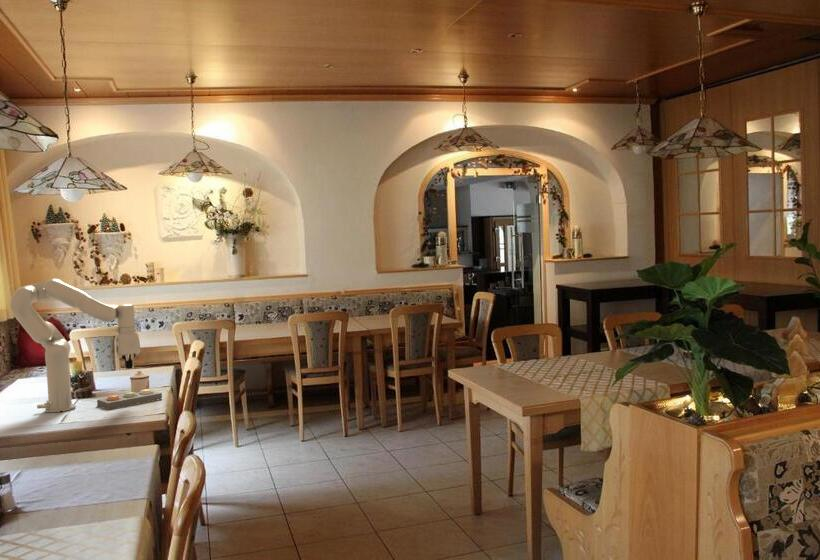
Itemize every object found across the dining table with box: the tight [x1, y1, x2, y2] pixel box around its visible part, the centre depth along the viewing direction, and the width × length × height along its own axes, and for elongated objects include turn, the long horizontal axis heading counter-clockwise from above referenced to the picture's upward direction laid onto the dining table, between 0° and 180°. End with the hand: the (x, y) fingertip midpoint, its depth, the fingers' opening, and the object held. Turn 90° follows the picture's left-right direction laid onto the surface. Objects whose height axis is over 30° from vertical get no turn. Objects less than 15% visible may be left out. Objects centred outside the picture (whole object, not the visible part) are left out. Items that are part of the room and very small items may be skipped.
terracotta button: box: [106, 394, 120, 401], centre depth 326 cm, size 5×5×3 cm
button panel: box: [96, 389, 163, 411], centre depth 332 cm, size 26×12×3 cm, turn 137°
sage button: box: [123, 391, 136, 398], centre depth 332 cm, size 5×5×3 cm
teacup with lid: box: [129, 370, 150, 393], centre depth 353 cm, size 12×9×12 cm
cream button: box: [140, 388, 152, 395], centre depth 338 cm, size 5×5×3 cm
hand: (129, 368), depth 331 cm, fingers closed
